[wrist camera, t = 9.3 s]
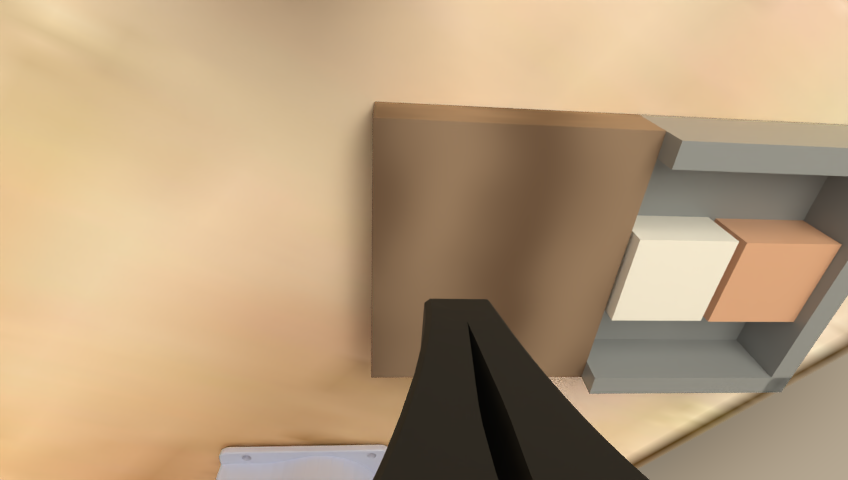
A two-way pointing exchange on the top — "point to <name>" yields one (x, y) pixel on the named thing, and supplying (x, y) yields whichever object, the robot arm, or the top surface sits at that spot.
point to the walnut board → (502, 222)
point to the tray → (733, 199)
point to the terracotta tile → (770, 270)
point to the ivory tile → (670, 269)
